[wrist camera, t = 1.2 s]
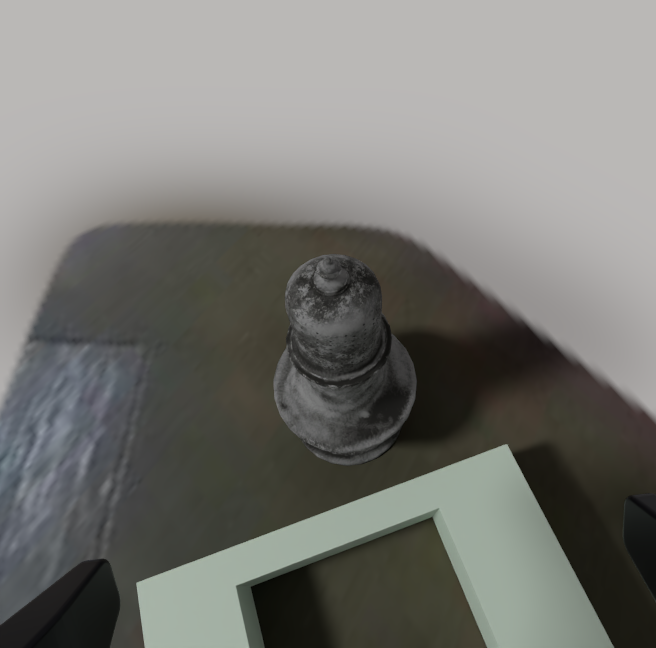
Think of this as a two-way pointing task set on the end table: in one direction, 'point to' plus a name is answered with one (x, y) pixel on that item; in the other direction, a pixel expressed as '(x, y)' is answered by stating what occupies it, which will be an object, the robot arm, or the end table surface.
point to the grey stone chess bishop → (342, 363)
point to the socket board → (381, 519)
